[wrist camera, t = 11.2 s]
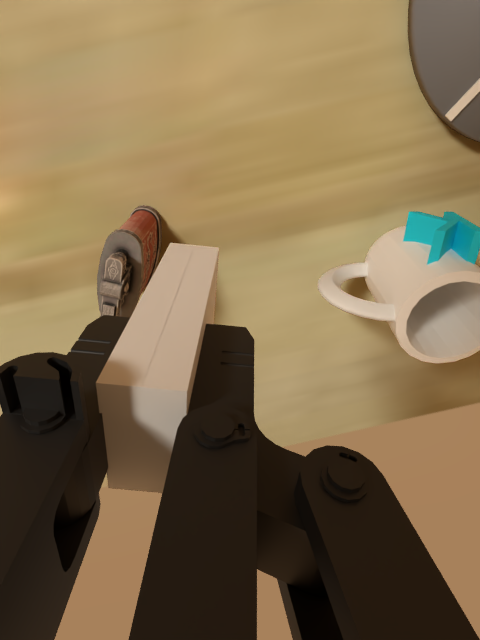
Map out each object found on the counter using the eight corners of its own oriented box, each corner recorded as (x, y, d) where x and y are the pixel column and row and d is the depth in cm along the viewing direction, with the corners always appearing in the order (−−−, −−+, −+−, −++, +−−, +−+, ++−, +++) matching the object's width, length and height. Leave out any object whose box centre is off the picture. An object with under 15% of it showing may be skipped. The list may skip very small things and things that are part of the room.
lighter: (129, 200, 35) (89, 238, 27) (167, 211, 35) (138, 251, 27) (120, 280, 39) (82, 335, 31) (154, 288, 40) (125, 345, 31)
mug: (451, 194, 34) (536, 241, 24) (426, 289, 39) (488, 364, 28) (313, 193, 34) (338, 239, 24) (305, 288, 39) (322, 361, 29)
